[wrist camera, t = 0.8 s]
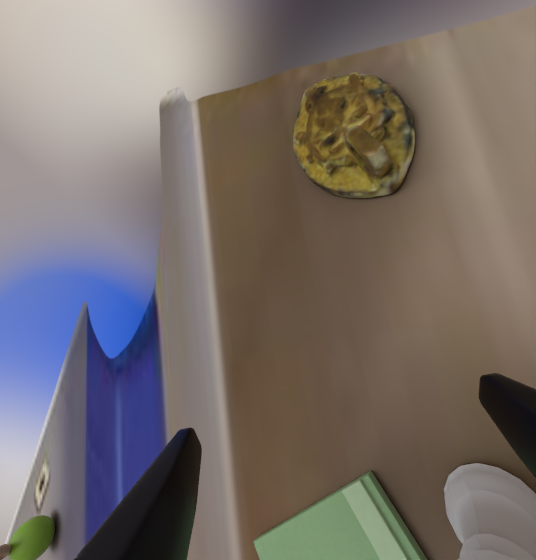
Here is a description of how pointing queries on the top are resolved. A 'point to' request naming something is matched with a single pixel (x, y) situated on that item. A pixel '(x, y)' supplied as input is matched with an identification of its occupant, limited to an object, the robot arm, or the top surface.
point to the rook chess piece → (491, 513)
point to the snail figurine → (30, 539)
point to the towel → (343, 529)
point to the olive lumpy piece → (354, 136)
